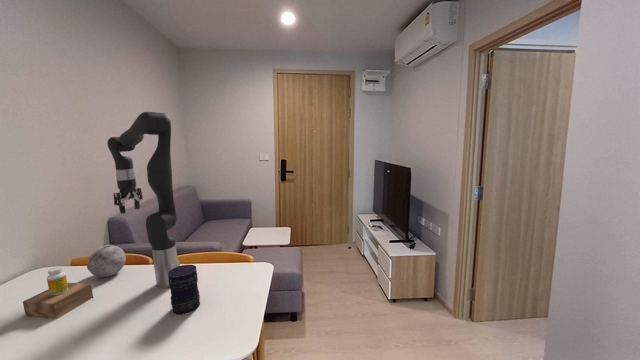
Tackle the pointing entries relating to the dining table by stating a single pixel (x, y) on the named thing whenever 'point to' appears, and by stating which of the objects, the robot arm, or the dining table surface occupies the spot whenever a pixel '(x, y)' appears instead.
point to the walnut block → (57, 301)
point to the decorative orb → (106, 261)
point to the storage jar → (184, 289)
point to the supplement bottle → (57, 281)
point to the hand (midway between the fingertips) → (130, 211)
